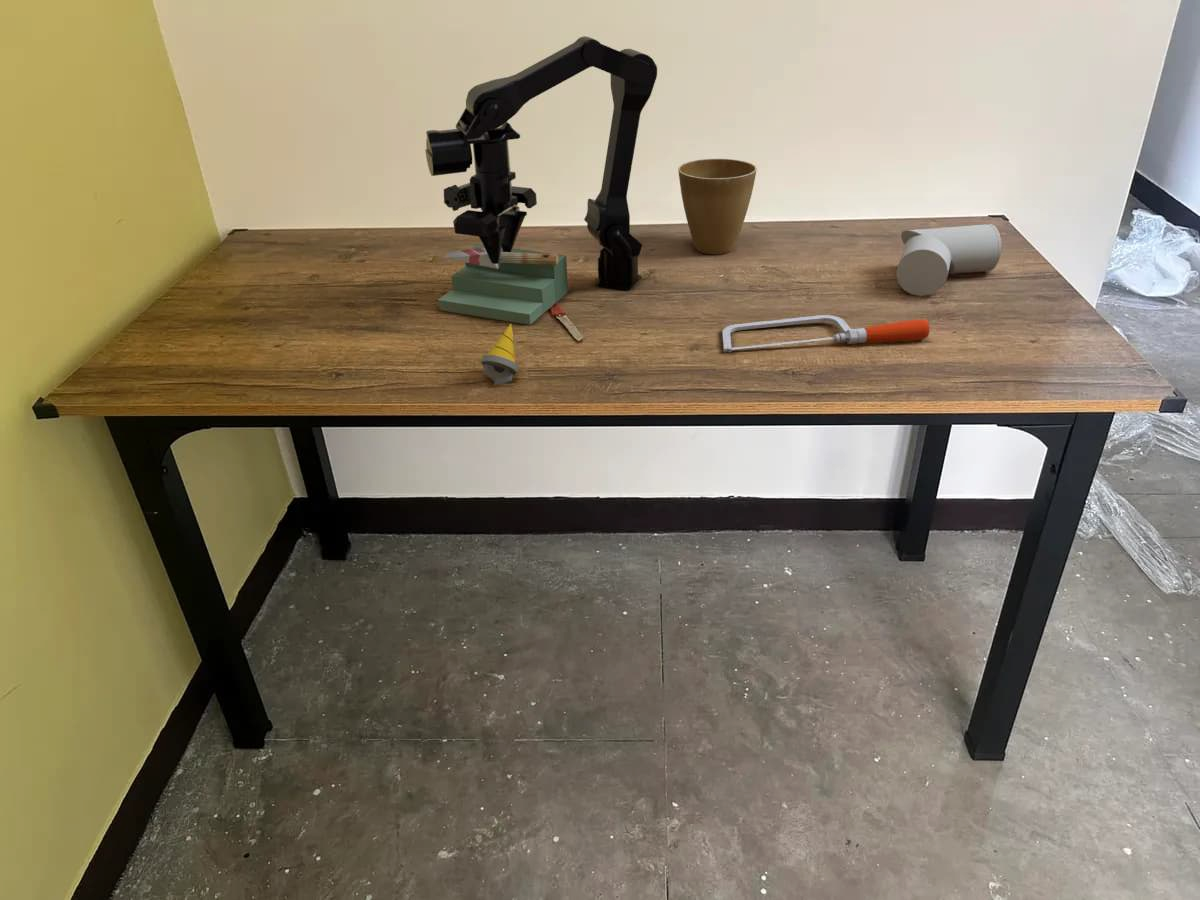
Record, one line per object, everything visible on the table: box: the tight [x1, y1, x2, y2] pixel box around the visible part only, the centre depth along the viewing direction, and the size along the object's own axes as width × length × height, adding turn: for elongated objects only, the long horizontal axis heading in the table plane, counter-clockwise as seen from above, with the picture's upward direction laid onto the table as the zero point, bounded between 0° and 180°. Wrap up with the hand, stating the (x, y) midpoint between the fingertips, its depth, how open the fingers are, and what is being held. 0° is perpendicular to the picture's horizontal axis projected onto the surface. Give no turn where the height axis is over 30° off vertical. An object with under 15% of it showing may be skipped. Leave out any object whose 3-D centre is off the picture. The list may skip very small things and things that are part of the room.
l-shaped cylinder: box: [895, 223, 1002, 297], centre depth 160 cm, size 18×11×20 cm
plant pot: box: [677, 158, 758, 255], centre depth 174 cm, size 15×15×16 cm
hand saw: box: [721, 314, 930, 353], centre depth 143 cm, size 33×3×10 cm
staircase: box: [437, 243, 569, 326], centre depth 157 cm, size 18×15×7 cm
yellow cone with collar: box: [480, 323, 519, 386], centre depth 133 cm, size 5×5×10 cm
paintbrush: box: [443, 248, 558, 269], centre depth 154 cm, size 4×3×20 cm
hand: (500, 259), depth 154 cm, fingers closed on paintbrush, 4 cm apart
